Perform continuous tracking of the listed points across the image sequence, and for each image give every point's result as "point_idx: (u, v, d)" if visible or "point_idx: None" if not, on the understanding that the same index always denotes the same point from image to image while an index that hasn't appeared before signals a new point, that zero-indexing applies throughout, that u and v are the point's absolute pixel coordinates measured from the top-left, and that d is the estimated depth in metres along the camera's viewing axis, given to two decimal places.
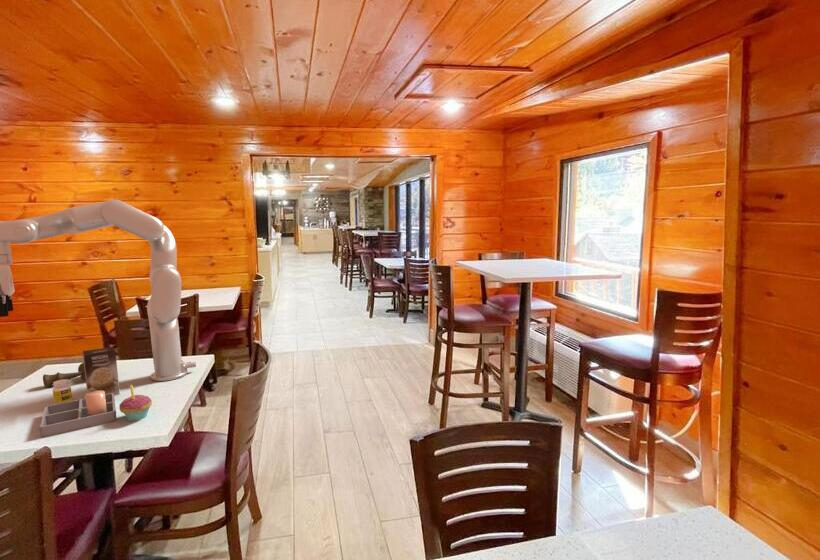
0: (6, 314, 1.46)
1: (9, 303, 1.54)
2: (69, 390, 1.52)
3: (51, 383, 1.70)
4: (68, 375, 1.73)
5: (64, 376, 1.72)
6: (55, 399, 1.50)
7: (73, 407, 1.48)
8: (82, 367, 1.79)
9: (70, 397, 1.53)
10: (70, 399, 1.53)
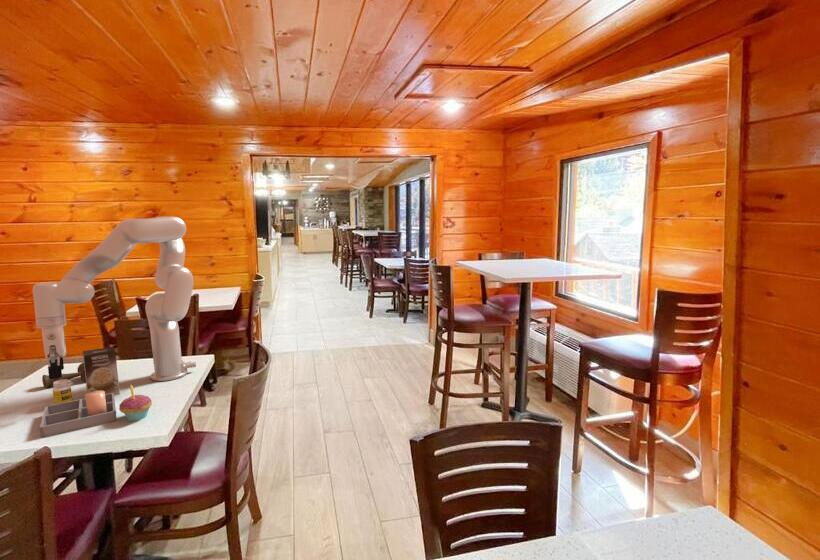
0: (60, 376, 1.47)
1: (60, 362, 1.55)
2: (69, 390, 1.52)
3: (50, 383, 1.70)
4: (68, 375, 1.73)
5: (64, 376, 1.72)
6: (55, 399, 1.50)
7: (73, 407, 1.48)
8: (81, 367, 1.78)
9: (70, 397, 1.53)
10: (70, 399, 1.53)
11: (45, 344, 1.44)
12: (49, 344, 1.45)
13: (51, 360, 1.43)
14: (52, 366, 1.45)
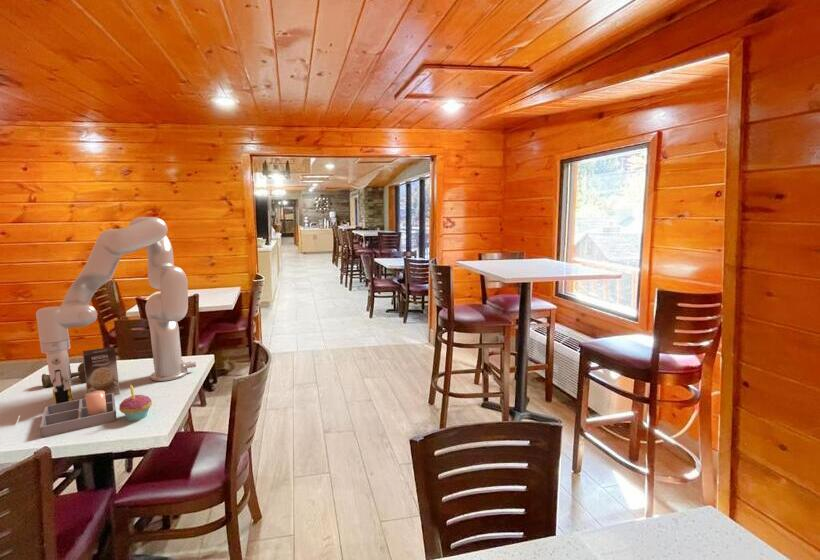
0: (66, 400, 1.51)
1: None
2: (69, 390, 1.52)
3: (49, 383, 1.70)
4: None
5: None
6: (55, 399, 1.50)
7: (73, 407, 1.48)
8: (81, 367, 1.79)
9: (70, 397, 1.53)
10: (70, 399, 1.53)
11: (50, 369, 1.46)
12: (54, 369, 1.46)
13: (58, 387, 1.47)
14: (59, 391, 1.48)
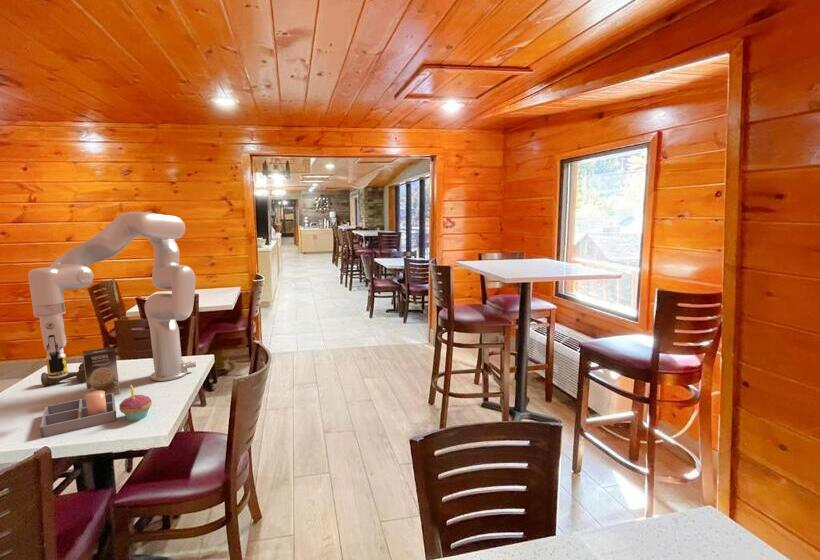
0: (61, 369, 1.39)
1: None
2: (64, 358, 1.41)
3: (48, 382, 1.71)
4: None
5: None
6: (49, 368, 1.39)
7: (73, 407, 1.48)
8: (81, 367, 1.79)
9: (65, 366, 1.41)
10: (65, 368, 1.41)
11: (43, 334, 1.35)
12: (48, 334, 1.35)
13: (52, 354, 1.35)
14: (53, 359, 1.37)
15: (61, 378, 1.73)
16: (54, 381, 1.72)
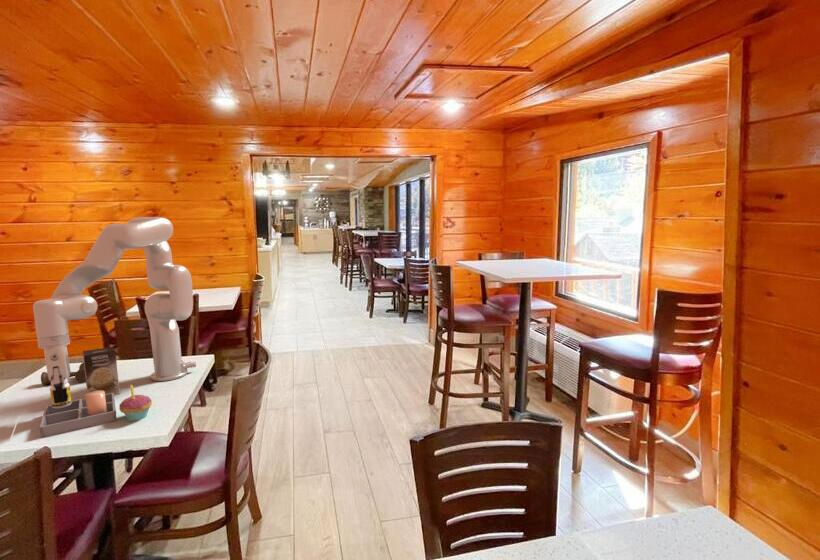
0: (65, 399, 1.41)
1: None
2: (68, 388, 1.42)
3: (48, 381, 1.72)
4: None
5: None
6: (53, 398, 1.40)
7: (73, 407, 1.48)
8: (82, 367, 1.79)
9: (69, 396, 1.43)
10: (69, 398, 1.43)
11: (48, 365, 1.36)
12: (52, 365, 1.36)
13: (56, 385, 1.37)
14: (57, 390, 1.39)
15: None
16: None
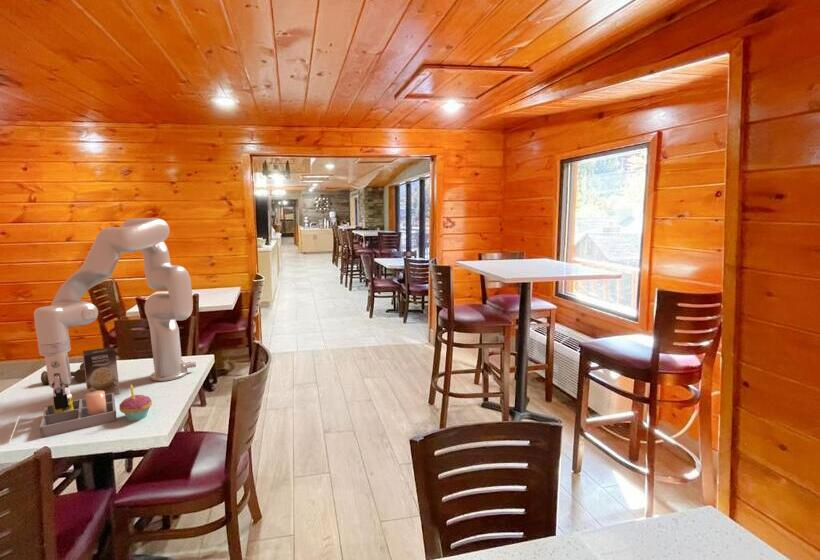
0: (66, 405, 1.40)
1: None
2: (70, 399, 1.43)
3: (48, 380, 1.73)
4: None
5: None
6: (55, 409, 1.41)
7: (73, 407, 1.48)
8: (82, 366, 1.79)
9: (71, 406, 1.43)
10: (71, 409, 1.43)
11: (49, 372, 1.36)
12: (53, 372, 1.37)
13: (56, 391, 1.36)
14: (58, 396, 1.38)
15: None
16: None
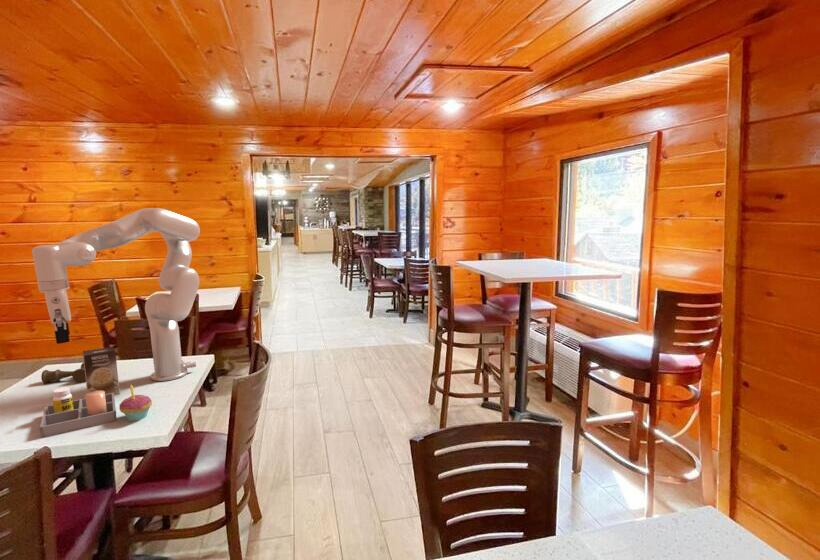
0: (67, 340, 1.44)
1: (65, 327, 1.51)
2: (70, 399, 1.43)
3: (48, 379, 1.74)
4: (65, 373, 1.75)
5: (61, 374, 1.75)
6: (55, 409, 1.41)
7: (73, 407, 1.48)
8: (82, 366, 1.80)
9: (71, 406, 1.43)
10: (71, 409, 1.43)
11: (50, 308, 1.41)
12: (54, 308, 1.41)
13: (58, 324, 1.40)
14: (59, 330, 1.42)
15: (60, 376, 1.75)
16: (54, 379, 1.74)
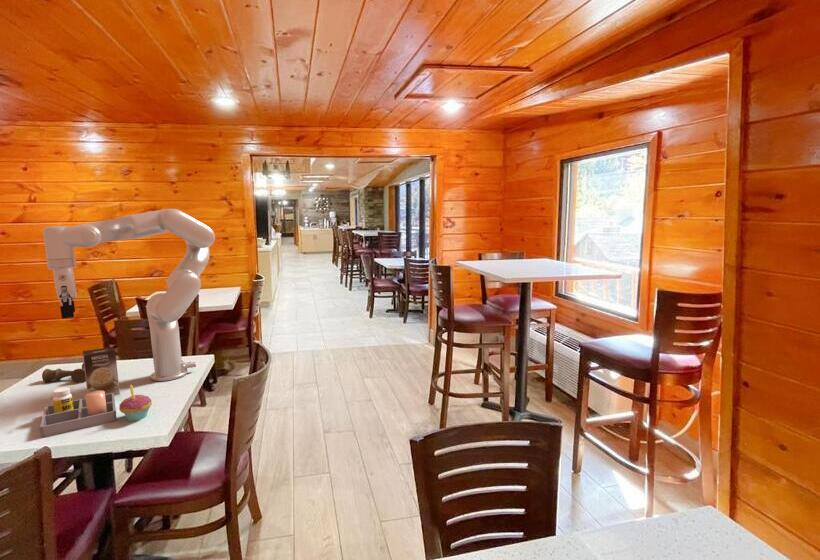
0: (72, 315, 1.53)
1: (71, 305, 1.60)
2: (70, 399, 1.43)
3: (49, 378, 1.75)
4: (65, 373, 1.76)
5: (61, 373, 1.76)
6: (55, 409, 1.41)
7: (73, 407, 1.48)
8: (83, 366, 1.80)
9: (71, 406, 1.43)
10: (71, 409, 1.43)
11: (57, 284, 1.50)
12: (61, 284, 1.51)
13: (63, 299, 1.49)
14: (64, 306, 1.51)
15: (60, 376, 1.76)
16: (54, 378, 1.75)
